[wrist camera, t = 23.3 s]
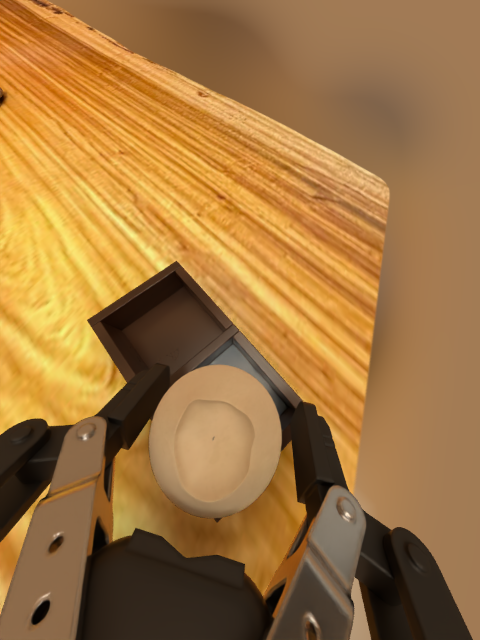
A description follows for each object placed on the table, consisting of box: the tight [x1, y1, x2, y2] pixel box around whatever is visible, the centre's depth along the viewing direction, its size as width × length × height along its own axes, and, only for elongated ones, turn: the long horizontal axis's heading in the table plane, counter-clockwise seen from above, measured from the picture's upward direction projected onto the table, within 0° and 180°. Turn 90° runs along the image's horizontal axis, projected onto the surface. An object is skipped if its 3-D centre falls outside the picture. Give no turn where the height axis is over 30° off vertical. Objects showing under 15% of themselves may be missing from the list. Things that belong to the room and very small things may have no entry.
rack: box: [87, 261, 303, 522], centre depth 15 cm, size 17×9×4 cm, turn 41°
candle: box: [149, 365, 282, 518], centre depth 11 cm, size 6×6×10 cm
